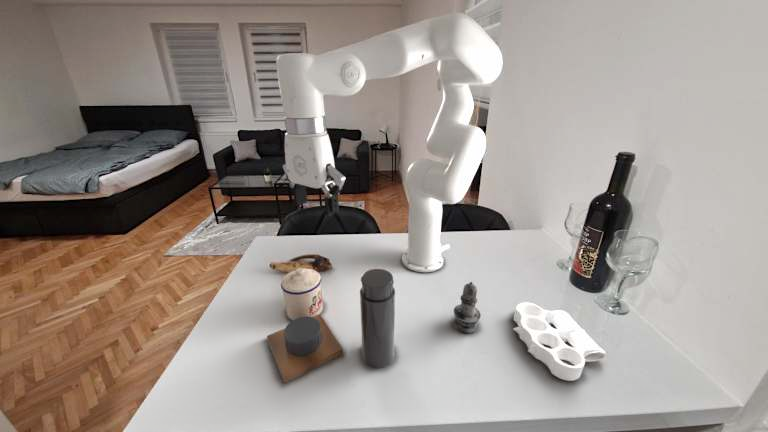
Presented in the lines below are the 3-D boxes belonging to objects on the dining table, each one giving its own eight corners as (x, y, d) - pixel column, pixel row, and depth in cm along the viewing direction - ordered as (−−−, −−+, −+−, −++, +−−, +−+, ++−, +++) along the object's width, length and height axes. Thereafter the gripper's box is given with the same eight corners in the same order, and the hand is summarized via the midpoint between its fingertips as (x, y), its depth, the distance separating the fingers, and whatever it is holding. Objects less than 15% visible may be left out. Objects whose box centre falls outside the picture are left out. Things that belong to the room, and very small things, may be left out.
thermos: (382, 337, 66) (382, 263, 58) (400, 358, 61) (402, 280, 53) (356, 351, 63) (352, 274, 55) (373, 373, 58) (371, 293, 50)
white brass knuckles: (616, 375, 57) (543, 384, 56) (555, 310, 74) (498, 315, 72) (621, 363, 56) (547, 371, 54) (558, 299, 72) (500, 304, 71)
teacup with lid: (317, 325, 69) (312, 283, 64) (279, 322, 70) (271, 280, 65) (331, 291, 80) (328, 254, 75) (298, 289, 81) (293, 252, 76)
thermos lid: (301, 362, 58) (299, 349, 57) (278, 344, 62) (276, 331, 61) (329, 339, 64) (328, 326, 62) (306, 323, 68) (304, 311, 66)
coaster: (320, 318, 71) (319, 313, 70) (343, 354, 62) (342, 348, 61) (267, 340, 65) (266, 335, 64) (284, 383, 56) (283, 378, 55)
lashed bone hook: (335, 259, 95) (277, 260, 94) (334, 246, 93) (275, 246, 93) (331, 276, 87) (267, 276, 86) (330, 262, 85) (265, 262, 84)
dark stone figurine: (479, 319, 71) (486, 276, 66) (477, 337, 66) (485, 293, 61) (453, 313, 73) (458, 271, 68) (450, 330, 68) (455, 287, 63)
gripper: (261, 125, 60) (276, 205, 67) (323, 133, 51) (333, 224, 58) (292, 121, 65) (303, 195, 73) (353, 127, 56) (358, 211, 63)
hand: (316, 208), depth 65 cm, fingers open, 9 cm apart
